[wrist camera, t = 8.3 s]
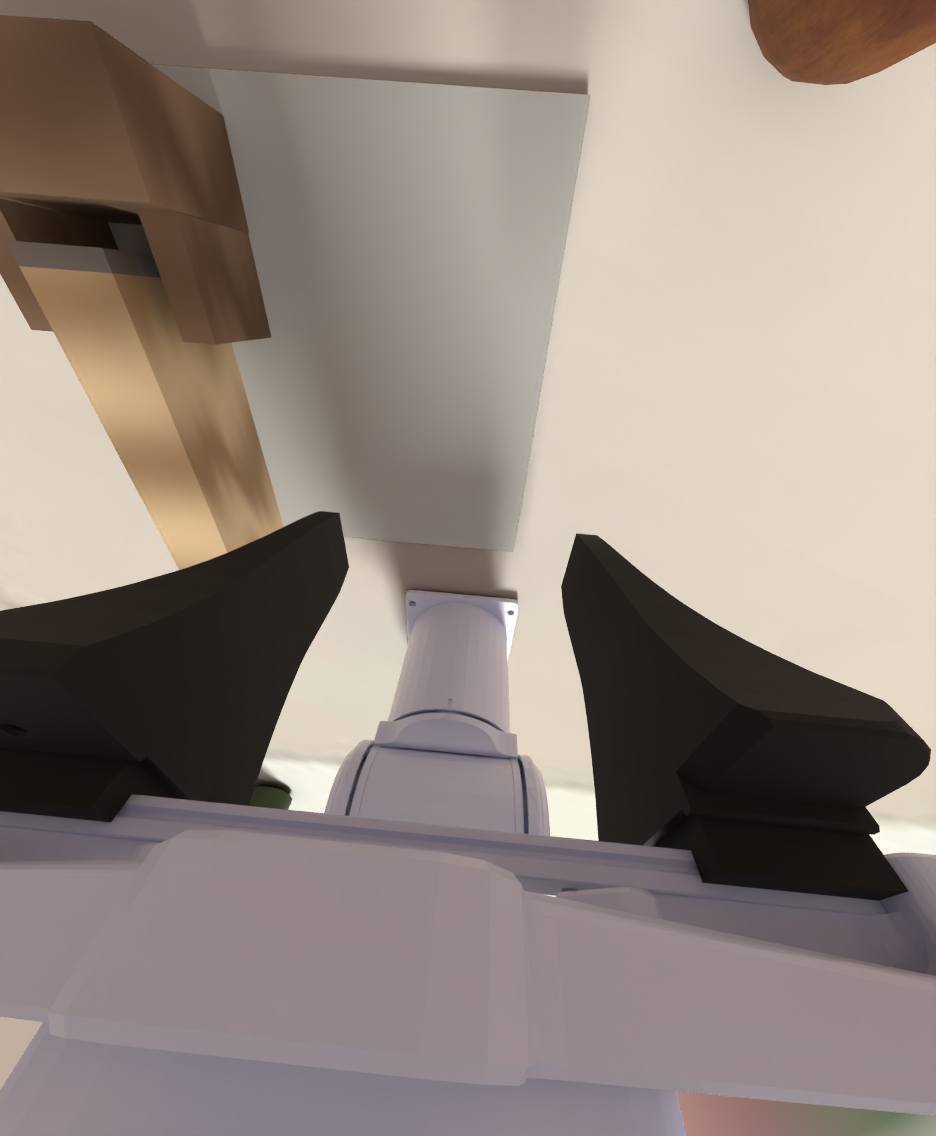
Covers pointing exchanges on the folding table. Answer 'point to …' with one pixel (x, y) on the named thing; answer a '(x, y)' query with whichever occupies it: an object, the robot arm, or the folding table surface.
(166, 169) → the bracket
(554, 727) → the folding table surface
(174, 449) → the rail
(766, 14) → the wooden figurine
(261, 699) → the robot arm
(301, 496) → the mat
